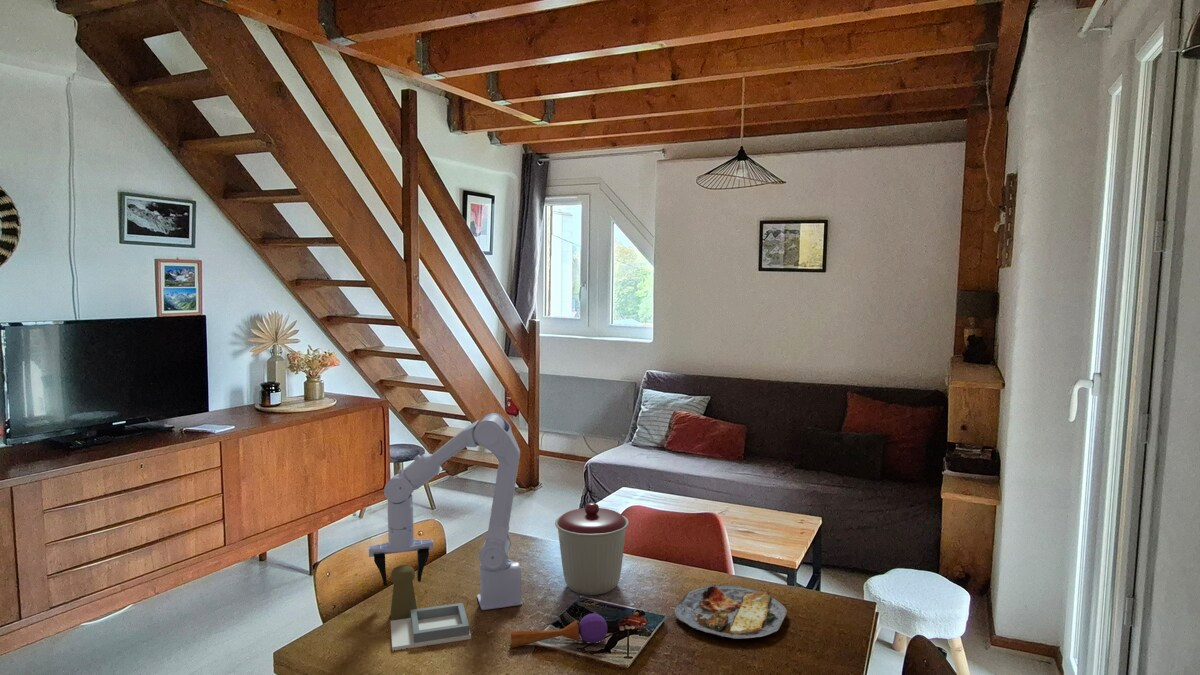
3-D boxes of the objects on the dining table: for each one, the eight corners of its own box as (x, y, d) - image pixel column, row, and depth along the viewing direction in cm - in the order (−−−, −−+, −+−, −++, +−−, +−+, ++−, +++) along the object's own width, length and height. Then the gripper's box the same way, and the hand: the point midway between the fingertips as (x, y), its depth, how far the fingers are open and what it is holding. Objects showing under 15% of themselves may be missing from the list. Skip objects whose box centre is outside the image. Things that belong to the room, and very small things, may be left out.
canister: (544, 580, 181) (543, 498, 180) (607, 566, 190) (607, 488, 188) (574, 608, 165) (573, 519, 164) (642, 593, 174) (642, 507, 172)
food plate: (699, 585, 178) (699, 571, 177) (794, 604, 167) (795, 590, 167) (662, 632, 155) (662, 616, 155) (770, 658, 145) (770, 641, 145)
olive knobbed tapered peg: (410, 621, 159) (409, 573, 158) (385, 619, 160) (383, 571, 160) (422, 609, 165) (421, 563, 164) (398, 607, 166) (396, 561, 166)
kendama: (510, 620, 152) (604, 608, 154) (513, 649, 151) (607, 637, 153) (509, 628, 146) (607, 616, 148) (512, 659, 145) (610, 646, 147)
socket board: (464, 613, 163) (463, 601, 163) (471, 638, 152) (470, 626, 151) (390, 624, 158) (390, 612, 158) (392, 650, 147) (391, 637, 147)
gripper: (431, 517, 173) (432, 571, 175) (368, 523, 169) (369, 579, 170) (433, 526, 167) (434, 583, 168) (368, 533, 162) (369, 591, 163)
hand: (402, 582), depth 169 cm, fingers open, 7 cm apart
